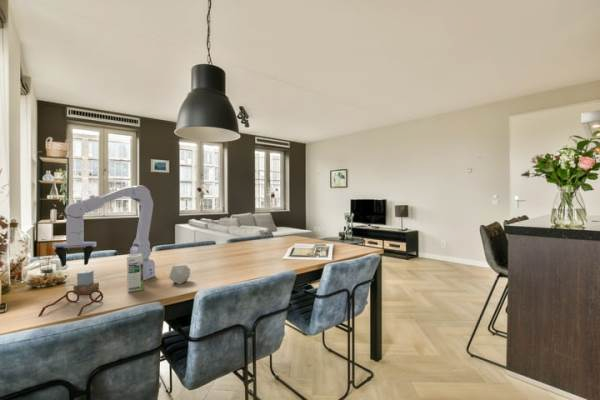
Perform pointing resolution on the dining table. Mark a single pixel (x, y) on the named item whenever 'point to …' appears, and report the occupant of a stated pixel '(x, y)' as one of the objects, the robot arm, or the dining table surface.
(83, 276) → the slate cube
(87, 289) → the walnut slab
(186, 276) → the die
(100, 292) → the glasses
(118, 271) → the dining table surface
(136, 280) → the syrup box
